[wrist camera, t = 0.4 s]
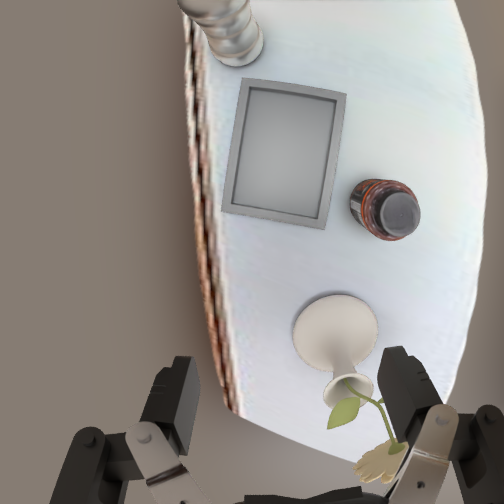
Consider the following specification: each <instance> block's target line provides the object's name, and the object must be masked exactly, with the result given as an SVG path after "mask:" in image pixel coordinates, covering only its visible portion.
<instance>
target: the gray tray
mask: <svg viewBox="0 0 504 504" xmlns="http://www.w3.org/2000/svg"><path fill="white" fill-rule="evenodd" d="M346 95H347V94H345V93H341V92H336V91H331V90H326V89H321V88H315V87H310V86H304V85H298V84H291V83H285V82H277V81H269V80H261V79H251V78H242V81H241V87H240V93H239V98H238V104H237V110H236V116H235V122H234V128H233V134H232V140H231V147H230V153H229V160H228V166H227V173H226V179H225V186H224V193H223V200H222V207H221V212H227V213H233V214H239V215H245V216H251V217H257V218H263V219H268V220H274V221H280V222H285V223H291V224H296V225H301V226H307V227H312V228H317V229H323V230H325V225H326V220H327V215H328V210H329V204H330V199H331V193H332V188H333V182H334V176H335V170H336V164H337V158H338V152H339V146H340V139H341V132H342V125H343V118H344V111H345V103H346Z"/></svg>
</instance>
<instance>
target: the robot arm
mask: <svg viewBox="0 0 504 504" xmlns="http://www.w3.org/2000/svg"><path fill="white" fill-rule="evenodd" d="M377 381H378V386H379V389H380V392H381V395H382V397H383V400H384V403H385V406H386V409H387V412H388V414H389V417H390V420H391V423H392V426H393V429H394V432H395V435H396V438H397V441H398V444H399V443H403V442H408V445H409V447H408V449H407V451H406V453H405V455H404V457H403V459H402V461H401V464H400V466H399V468H398V470H397V472H396V474H395V476H394V477H393V479H392V481H391V483H390V485H389V486H388V488H387V490H386V491H385V493H384V494H383V496H380V495H376V494H373V493H366V492H362V489H361V486H358V487H351V488H346V489H338V490H332V491H329V492H327V493H324V494H321V495H318V496H314V497H312V498H308V499H296V498H290V497H283V496H277V495H245V497H244V501H243V502H238V503H235V504H435V501H436V499H437V497H438V494H439V491H440V489H441V487H442V484H443V481H444V479H445V476H446V473H447V470H448V467H449V463H450V461H452V464H453V467H454V470H455V473H456V477H457V480H458V483H459V486H460V490H461V494H462V497H463V501H464V504H504V416H503V414H502V412H501V411H500V409H499V408H497V407H495V406H493V405H483V406H481V407H480V408H479V409H478V411H477V412H476V414H458V413H457V412H456V410H455V409H454V408H453V407H451V406H449V405H446V404H443V402H442V400H441V398H440V397H439V395H438V393H437V391H436V389H435V387H434V385H433V383H432V381H431V379H429V376H428V374H427V373H426V370H425V368H424V366H423V365H422V363H421V362H420V361H419V360H418V359H417V358H415V357H414V356H408V355H407V353H406V351H405V349H404V348H403V346H395V347H388V348H385V349H384V351H383V355H382V359H381V363H380V367H379V370H378V375H377ZM199 396H200V381H199V376H198V372H197V368H196V363H195V359H194V357H191V356H176V357H175V359H174V361H173V365H172V367H171V368H169V367H164V368H163V369H162V370H161V371H160V372H159V373H158V374H157V375H156V377H155V380H154V383H153V386H152V388H151V391H150V394H149V396H148V399H147V402H146V404H145V407H144V410H143V413H142V416H141V418H140V421H139V423H136V424H134V425H132V426H131V427H130V428H129V429H128V430H127V432H124V433H117V434H108V435H104V433H103V432H102V431H101V430H100V429H98V428H96V427H86V428H83V429H81V430H80V431H78V432H77V433H76V434H75V436H74V438H73V441H72V443H71V446H70V448H69V451H68V453H67V456H66V458H65V461H64V464H63V466H62V469H61V472H60V474H59V477H58V480H57V483H56V486H55V488H54V491H53V494H52V497H51V500H50V503H49V504H124V500H125V495H126V490H127V486H128V482H129V480H140V479H145V480H146V484H147V486H148V488H149V490H150V492H151V494H152V495H153V497H154V499H155V501H156V502H157V504H212V503H211V501H210V500H209V499H208V497H207V496H206V495H205V493H204V492H203V491H202V489H201V488H200V487H199V485H198V484H197V482H196V481H195V480H194V478H193V477H192V476H191V474H190V473H189V471H188V470H187V469H186V467H184V466H183V464H182V463H181V461H180V460H179V455H185V456H187V455H188V449H189V445H190V440H191V435H192V430H193V425H194V420H195V415H196V410H197V405H198V401H199Z"/></svg>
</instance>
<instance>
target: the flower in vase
mask: <svg viewBox="0 0 504 504" xmlns="http://www.w3.org/2000/svg"><path fill="white" fill-rule="evenodd" d="M377 335H378V323H377V319H376V316H375V314H374V312H373V311H372V309H371V308H370V307H369V306H368V305H367V304H366V303H364V302H363V301H361V300H360V299H358V298H355V297H352V296H347V295H332V296H327V297H324V298H321V299H319V300H317V301H315V302H313V303H312V304H310V305H309V306H308V307H307V308H306V309H305V310H303V312H302V313H301V314H300V315H299V317H298V319H297V321H296V323H295V325H294V329H293V344H294V347H295V350H296V352H297V353H298V355H299V356H300V358H301V359H302V360H303V361H304V362H305V363H306V364H308V365H309V366H311V367H312V368H315V369H317V370H320V371H325V372H333V380H332V381H330V382H329V383H328V385H327V386H326V388H325V390H324V393H323V399H324V402H325V403H326V405H327V406H328V407H330V408H331V409H333V410H332V412H331V414H330V417H329V421H328V426H327V429H332V428H335V427H338V426H341V425H344V424H347V423H349V422H351V421H352V420H354V419H355V418H356V416H357V414H358V411H359V408H360V407H362V406H363V405H364V404H366V403H367V402H368V401H369V402H371V403H373V404H374V405H376V406H377V407H378V408H379V410H380V412H381V414H382V417H383V420H384V422H385V425H386V428H387V431H388V434H389V436H390V439H389V440H387V441H386V442H385V443H383V444H380V445H378V446H377V447H375V449H374V450H371V451H368V452H366V453H365V454H364V455H363V456H362V457H363V458H361V459H360V460H359V461H358V462H357V463H358V464H356V465H355V466H354V467H353V470H355V469H357V470H356V471H355V472H354V474H355V475H360V474H362V475H361V477H360V481H361V482H362V481H364V482H365V483H369V482H371V481H373V480H374V479H377V478H379V477H380V476H381V475H382V477H381V483H383V484H384V483H389V482H390V481H392V479H393V477H394V476H395V474H396V472H397V470H398V468H399V466H400V464H401V461H402V459H403V457H404V455H405V453H406V451H407V449H408V447H409V445H408V442H403V443H399V444H398V441H397V438H394V437H393V434H392V431H391V429H390V426H389V423H388V420H387V417H386V415H385V412H384V410H383V408H382V406H381V405H380V404H379V403H384V400H383V397H382V398H381V399H380V400H379V401H378V402H376V401H375V400H373V399H371V396H372V394H373V384H372V382H371V380H370V379H369V378H368V377H366V376H365V375H362V374H359V373H357V372H356V370H355V368H354V366H356V365H358V364H359V363H361V362H362V361H363V360H364V359H365V358H366V357H367V356H368V355H369V354H370V353H371V351H372V349H373V348H374V345H375V343H376V339H377Z"/></svg>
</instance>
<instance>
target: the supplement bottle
mask: <svg viewBox="0 0 504 504" xmlns="http://www.w3.org/2000/svg"><path fill="white" fill-rule="evenodd" d="M350 209H351V212H352V214H353V216H354V218H355V219H356V220H357V221H358V222H359V223H360V224H361V225H362V226H364V227H365V228H366V229H367V230H369V231H370V232H371V233H372V234H374V235H375V236H376V237H378V238H380V239H383V240H386V241H396V240H400V239H402V238H404V237H406V236H407V235H409V234H411V233H412V232H413V231H414V230H415V229H416V228H417V226H418V224H419V221H420V208H419V205H418V201H417V199H416V197H415V195H414V193H413V192H412V191H411V189H410V188H408V187H407V186H406V185H405V184H403V183H400V182H398V181H393V180H381V179H368V180H365V181H363V182H361V183H360V184H358V185H357V186H356V187H355V189H354V190H353V192H352V194H351V197H350Z"/></svg>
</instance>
